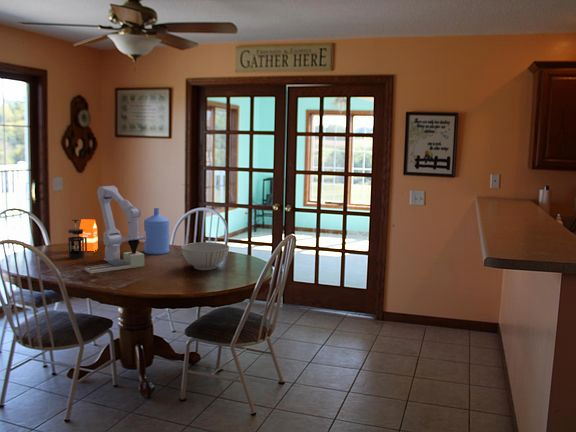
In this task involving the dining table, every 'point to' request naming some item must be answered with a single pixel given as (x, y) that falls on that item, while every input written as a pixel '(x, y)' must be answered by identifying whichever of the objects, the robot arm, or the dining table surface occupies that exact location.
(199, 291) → the dining table surface
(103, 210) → the robot arm
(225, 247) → the decorative bowl
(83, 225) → the orange juice
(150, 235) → the water jug
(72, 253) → the french press
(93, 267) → the track
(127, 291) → the dining table surface
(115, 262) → the carriage
